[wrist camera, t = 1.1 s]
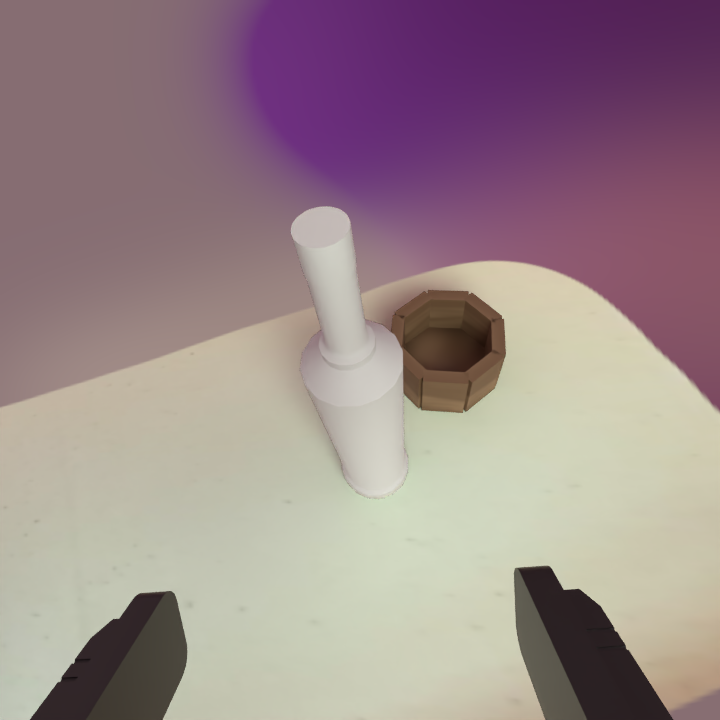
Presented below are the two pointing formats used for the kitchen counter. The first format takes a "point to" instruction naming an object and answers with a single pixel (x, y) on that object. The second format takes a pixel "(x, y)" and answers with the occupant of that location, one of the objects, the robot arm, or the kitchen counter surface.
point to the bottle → (351, 360)
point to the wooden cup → (449, 349)
